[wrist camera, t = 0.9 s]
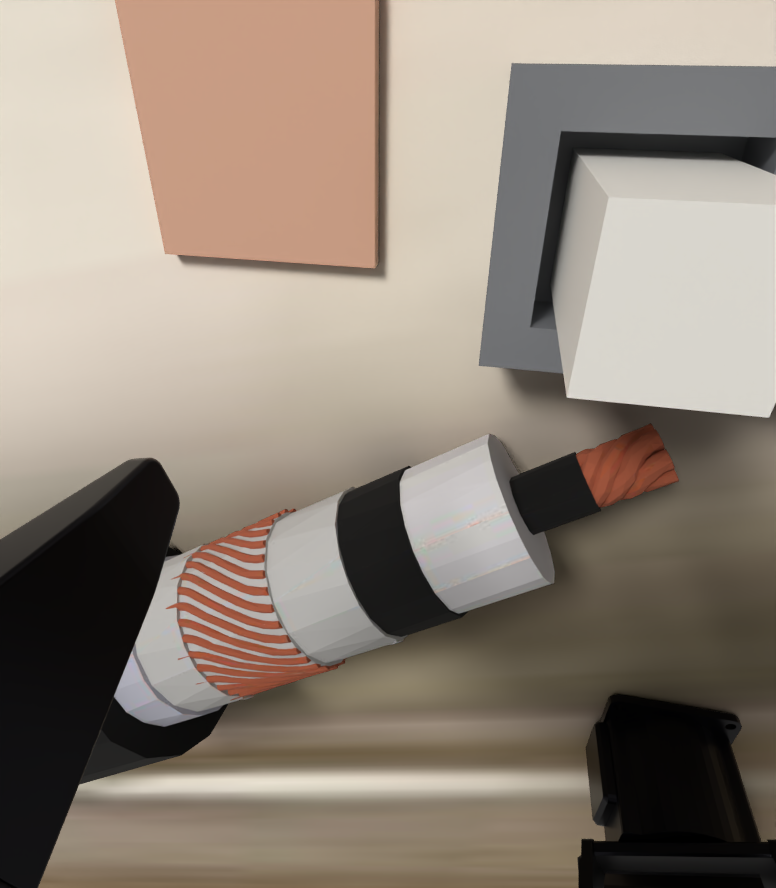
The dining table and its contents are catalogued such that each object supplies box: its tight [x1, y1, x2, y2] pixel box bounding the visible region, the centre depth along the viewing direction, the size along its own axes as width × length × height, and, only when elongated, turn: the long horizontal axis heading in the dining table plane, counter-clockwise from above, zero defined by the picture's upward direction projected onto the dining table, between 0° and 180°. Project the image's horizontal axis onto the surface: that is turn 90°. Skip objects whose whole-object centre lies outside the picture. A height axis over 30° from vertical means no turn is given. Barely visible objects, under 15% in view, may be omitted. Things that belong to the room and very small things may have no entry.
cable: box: [79, 423, 679, 784], centre depth 26 cm, size 10×34×10 cm, turn 120°
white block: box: [550, 148, 776, 418], centre depth 14 cm, size 4×4×8 cm
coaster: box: [115, 0, 379, 268], centre depth 19 cm, size 8×8×1 cm
